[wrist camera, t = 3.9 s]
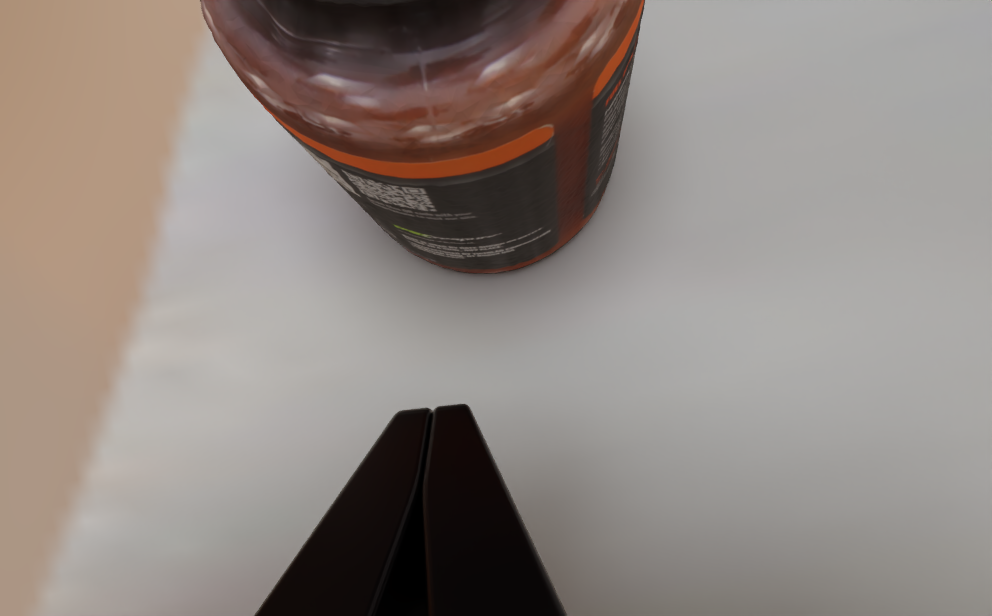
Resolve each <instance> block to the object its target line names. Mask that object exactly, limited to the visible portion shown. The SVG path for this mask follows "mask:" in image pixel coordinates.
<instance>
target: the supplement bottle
mask: <svg viewBox="0 0 992 616" xmlns="http://www.w3.org/2000/svg"><path fill="white" fill-rule="evenodd" d="M200 2H201V9H202V13H203V16H204V19H205V21H206V23H207V25H208V27H209V29H210V30H211V32H212V34H213V37H214V40H215V42H216V43H217V45H218V46H219V48H220V49H221V51H222V53H223V54H224V56H225V58H226V59H227V61H228V62H229V64H230V65H231V67H232V68H233V69H234V71H235V72H236V74H237V75H238V77H239V78H240V79H241V81H242V82H243V83H244V85H245V86H246V87H247V88H248V89H249V91H250V92H251V93H252V94H253V95H254V97H255V98H256V99H257V100H258V101H259V102H260V103H261V104H262V105H263V106H264V108H265V109H266V110H267V111H268V112H269V113H270V114H271V115H273V117H274V118H275V119H276V121H277V122H278V123H279V124H280V125H281V126H282V127H283V128H284V129H285V130H286V131H287V132H288V133H289V134H290V135H291V136H292V137H293V138H295V139H296V140H297V141H298V142H299V143H300V144H301V145H302V146H303V148H304V149H305V150H306V151H307V152H308V153H309V154H310V155H311V156H312V157H313V158H314V159H315V160H316V161H317V162H318V163H319V164H320V165H321V166H322V167H323V168H324V169H325V170H326V172H327V173H328V174H329V175H330V176H331V177H333V178H334V179H335V180H336V181H337V182H338V183H339V185H340V186H341V187H342V188H343V189H344V190H346V192H347V193H348V194H349V195H350V196H351V197H352V198H353V199H354V200H355V201H356V202H357V203H358V204H359V205H360V206H361V207H362V208H363V209H364V210H365V211H366V212H367V213H368V214H369V215H370V216H371V217H372V218H373V219H374V220H375V221H376V222H377V224H378V225H379V226H381V228H382V229H383V230H384V231H385V232H386V233H388V234H389V235H390V236H391V237H392V238H393V239H394V240H396V241H397V242H398V243H400V244H401V245H402V246H403V247H405V248H406V250H408V251H409V252H411V253H412V254H414V255H416V256H418V257H421V258H423V259H424V260H426V261H428V262H430V263H433V264H436V265H438V266H441V267H443V268H448V269H453V270H456V271H462V272H468V273H497V272H501V271H509V270H514V269H518V268H521V267H524V266H527V265H529V264H532V263H534V262H536V261H538V260H540V259H542V258H544V257H546V256H548V255H550V254H551V253H553V252H554V251H556V250H557V249H559V248H560V247H561V246H563V245H564V244H566V243H567V242H568V241H569V240H570V239H571V238H572V237H573V236H574V235H575V234H576V233H577V232H578V231H579V230H580V229H581V228H582V227H583V226H584V225H585V224H586V223H587V222H588V221H589V219H590V218H591V216H592V215H593V213H594V212H595V210H596V209H597V207H598V205H599V203H600V201H601V198H602V196H603V194H604V192H605V189H606V187H607V184H608V181H609V179H610V175H611V172H612V169H613V166H614V162H615V158H616V152H617V147H618V141H619V137H620V130H621V125H622V121H623V116H624V110H625V104H626V99H627V94H628V88H629V84H630V78H631V73H632V68H633V63H634V57H635V52H636V47H637V43H638V35H639V31H640V23H641V19H642V15H643V10H644V4H645V0H200Z"/></svg>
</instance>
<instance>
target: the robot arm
mask: <svg viewBox="0 0 992 616" xmlns="http://www.w3.org/2000/svg"><path fill="white" fill-rule="evenodd" d="M254 616H567V614H566V612H565V610H564V608H563V606H562V603H561V601H560V599H559V597H558V595H557V593H556V591H555V588H554V586H553V584H552V582H551V580H550V578H549V576H548V574H547V571H546V569H545V567H544V565H543V563H542V561H541V559H540V556H539V554H538V552H537V550H536V548H535V546H534V544H533V542H532V539H531V537H530V535H529V533H528V531H527V529H526V527H525V524H524V522H523V520H522V518H521V516H520V514H519V512H518V510H517V507H516V505H515V503H514V501H513V499H512V497H511V495H510V492H509V490H508V488H507V486H506V484H505V482H504V480H503V477H502V475H501V473H500V471H499V469H498V467H497V465H496V463H495V460H494V458H493V456H492V454H491V452H490V450H489V448H488V445H487V443H486V441H485V439H484V437H483V435H482V433H481V431H480V428H479V426H478V424H477V422H476V420H475V418H474V416H473V413H472V411H471V409H470V407H469V406H468V405H466V404H457V405H448V406H439V407H437V408H435V409H434V411H432V410H431V409H429V408H420V409H411V410H402V411H399V412H398V413H396V414H395V415H394V416H393V418H392V419H391V421H390V422H389V424H388V425H387V427H386V428H385V429H384V431H383V432H382V434H381V435H380V437H379V438H378V439H377V441H376V442H375V444H374V445H373V447H372V448H371V449H370V451H369V452H368V454H367V455H366V457H365V458H364V459H363V461H362V462H361V464H360V465H359V467H358V468H357V469H356V471H355V472H354V474H353V475H352V477H351V478H350V479H349V481H348V482H347V484H346V485H345V487H344V488H343V489H342V491H341V492H340V494H339V495H338V497H337V498H336V500H335V501H334V502H333V504H332V505H331V507H330V508H329V510H328V511H327V512H326V514H325V515H324V517H323V518H322V520H321V521H320V522H319V524H318V525H317V527H316V528H315V530H314V531H313V532H312V534H311V535H310V537H309V538H308V540H307V541H306V542H305V544H304V545H303V547H302V548H301V550H300V551H299V552H298V554H297V555H296V557H295V558H294V560H293V561H292V563H291V564H290V565H289V567H288V568H287V570H286V571H285V573H284V574H283V575H282V577H281V578H280V580H279V581H278V583H277V584H276V585H275V587H274V588H273V590H272V591H271V593H270V594H269V595H268V597H267V598H266V600H265V601H264V603H263V604H262V605H261V607H260V608H259V610H258V611H257V613H256V614H255V615H254Z"/></svg>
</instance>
